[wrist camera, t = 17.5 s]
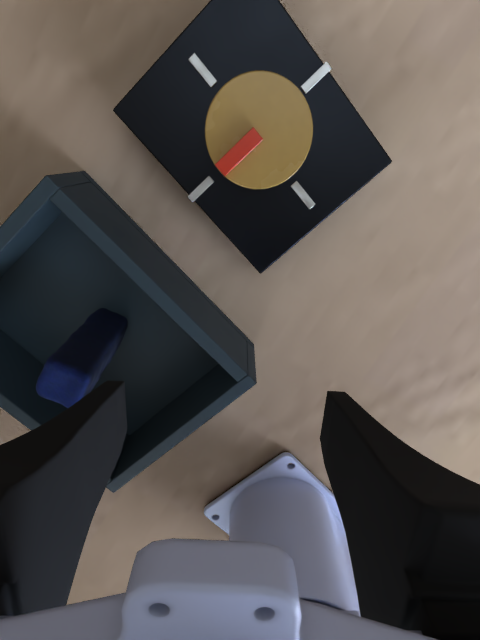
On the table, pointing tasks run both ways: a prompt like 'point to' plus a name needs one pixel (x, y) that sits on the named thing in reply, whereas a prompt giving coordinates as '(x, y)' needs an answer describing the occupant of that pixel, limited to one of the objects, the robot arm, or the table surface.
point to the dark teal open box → (120, 297)
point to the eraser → (82, 358)
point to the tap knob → (258, 129)
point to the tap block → (191, 110)
